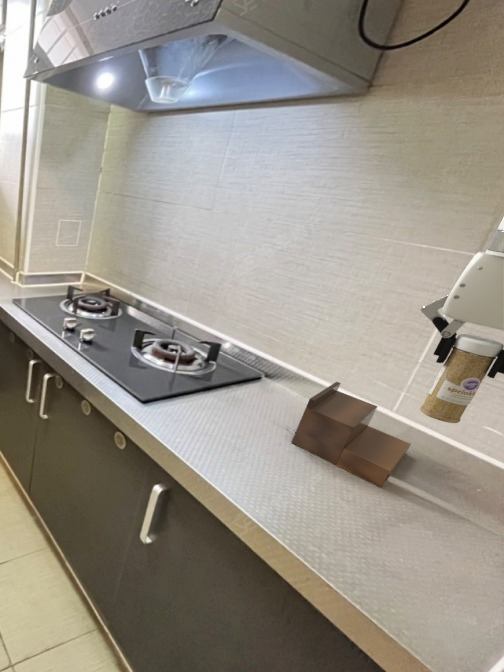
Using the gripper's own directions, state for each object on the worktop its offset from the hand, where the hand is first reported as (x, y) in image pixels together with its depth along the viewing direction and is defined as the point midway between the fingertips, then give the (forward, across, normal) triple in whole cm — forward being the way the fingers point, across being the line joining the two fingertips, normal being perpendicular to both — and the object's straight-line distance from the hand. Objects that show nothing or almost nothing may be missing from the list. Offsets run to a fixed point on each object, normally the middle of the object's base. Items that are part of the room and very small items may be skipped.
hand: (465, 367), depth 59 cm
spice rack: (+27, +9, -12) cm, 31 cm away
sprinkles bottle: (+9, 0, 0) cm, 9 cm away
